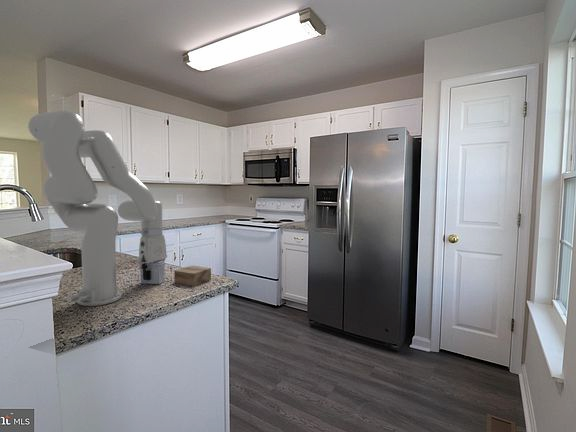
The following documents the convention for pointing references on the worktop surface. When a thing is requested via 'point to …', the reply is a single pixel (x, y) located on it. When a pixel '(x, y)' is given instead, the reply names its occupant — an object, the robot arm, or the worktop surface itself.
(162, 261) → the medicine box
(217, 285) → the worktop surface
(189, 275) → the walnut block
